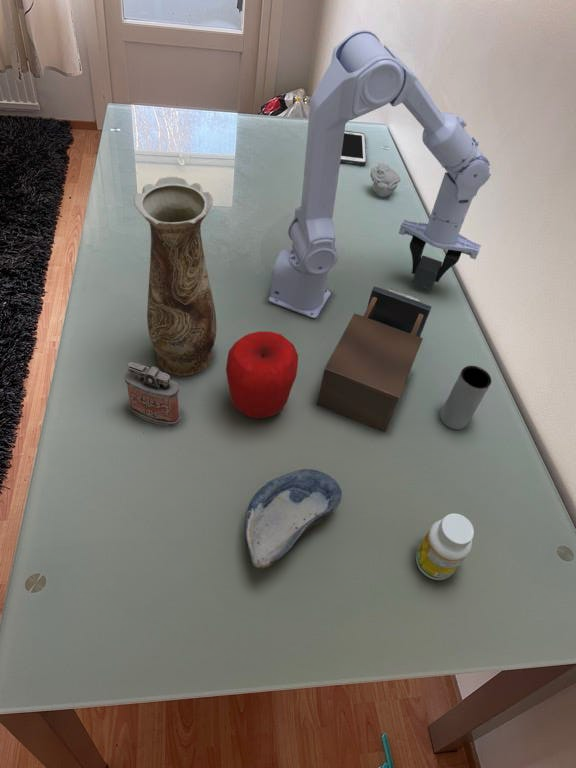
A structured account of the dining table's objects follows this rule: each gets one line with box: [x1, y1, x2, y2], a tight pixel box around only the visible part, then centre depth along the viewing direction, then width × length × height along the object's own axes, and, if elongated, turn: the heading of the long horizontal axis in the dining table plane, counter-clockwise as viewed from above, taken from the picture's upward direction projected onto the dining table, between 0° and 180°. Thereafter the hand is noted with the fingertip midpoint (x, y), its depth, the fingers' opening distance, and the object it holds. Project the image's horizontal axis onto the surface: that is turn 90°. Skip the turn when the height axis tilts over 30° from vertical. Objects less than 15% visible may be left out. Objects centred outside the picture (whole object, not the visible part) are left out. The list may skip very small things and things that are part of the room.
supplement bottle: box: [415, 513, 475, 581], centre depth 74 cm, size 5×5×10 cm
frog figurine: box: [369, 162, 402, 197], centre depth 132 cm, size 6×7×7 cm
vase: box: [133, 176, 217, 377], centre depth 85 cm, size 10×11×30 cm
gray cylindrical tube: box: [439, 365, 492, 430], centre depth 90 cm, size 4×4×10 cm
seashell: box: [245, 468, 343, 569], centre depth 77 cm, size 15×12×5 cm
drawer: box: [362, 285, 432, 337], centre depth 100 cm, size 17×10×7 cm, turn 157°
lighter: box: [124, 361, 181, 427], centre depth 85 cm, size 8×3×10 cm, turn 71°
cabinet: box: [316, 312, 423, 433], centre depth 93 cm, size 14×12×9 cm
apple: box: [225, 331, 299, 419], centre depth 87 cm, size 10×10×14 cm
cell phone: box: [340, 130, 367, 166], centre depth 146 cm, size 8×15×1 cm, turn 177°
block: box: [411, 254, 443, 291], centre depth 112 cm, size 4×4×4 cm
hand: (426, 275), depth 112 cm, fingers closed on block, 4 cm apart
